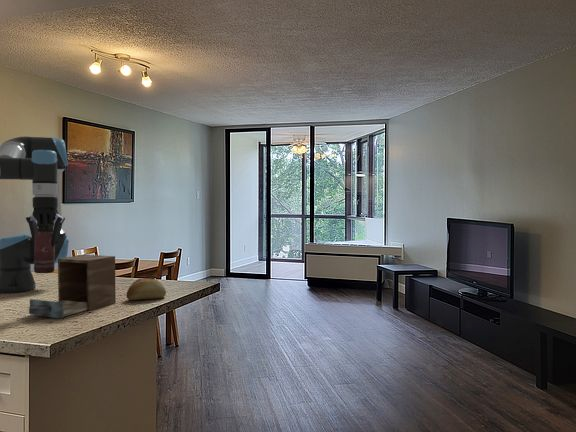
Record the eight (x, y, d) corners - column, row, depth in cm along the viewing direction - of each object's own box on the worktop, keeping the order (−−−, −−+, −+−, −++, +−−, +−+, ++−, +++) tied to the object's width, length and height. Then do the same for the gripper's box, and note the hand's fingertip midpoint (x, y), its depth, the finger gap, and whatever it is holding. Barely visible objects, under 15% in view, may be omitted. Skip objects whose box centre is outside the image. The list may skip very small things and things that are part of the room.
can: (55, 270, 164) (56, 230, 164) (52, 273, 158) (53, 231, 157) (36, 270, 162) (37, 230, 162) (32, 273, 156) (33, 231, 156)
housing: (58, 307, 169) (57, 258, 168) (85, 300, 181) (85, 254, 180) (89, 310, 164) (89, 260, 163) (115, 303, 176) (115, 256, 175)
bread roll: (123, 299, 184) (123, 278, 184) (161, 295, 192) (161, 275, 191) (129, 303, 176) (129, 282, 175) (169, 299, 183) (168, 278, 183)
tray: (19, 317, 154) (19, 302, 153) (60, 306, 169) (60, 292, 169) (51, 321, 149) (51, 305, 149) (91, 309, 165) (90, 295, 165)
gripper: (19, 196, 157) (20, 267, 157) (56, 196, 155) (57, 268, 156) (34, 196, 164) (35, 264, 165) (69, 196, 162) (70, 265, 163)
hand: (46, 266), depth 160 cm, fingers closed
